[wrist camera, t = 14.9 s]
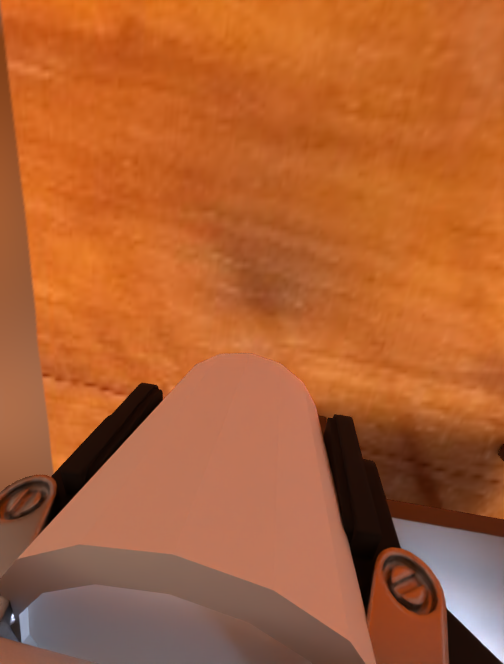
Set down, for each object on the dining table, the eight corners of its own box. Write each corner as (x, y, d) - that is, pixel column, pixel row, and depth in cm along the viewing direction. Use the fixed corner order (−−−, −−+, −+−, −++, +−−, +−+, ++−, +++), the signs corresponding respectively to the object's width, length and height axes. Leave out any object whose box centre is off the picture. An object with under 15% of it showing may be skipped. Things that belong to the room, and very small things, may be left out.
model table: (308, 410, 25) (316, 503, 17) (525, 442, 24) (648, 562, 16) (285, 528, 32) (282, 639, 23) (456, 560, 30) (518, 691, 22)
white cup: (373, 397, 10) (504, 716, 4) (275, 503, 13) (253, 791, 6) (200, 300, 10) (9, 474, 3) (138, 432, 12) (-31, 665, 6)
